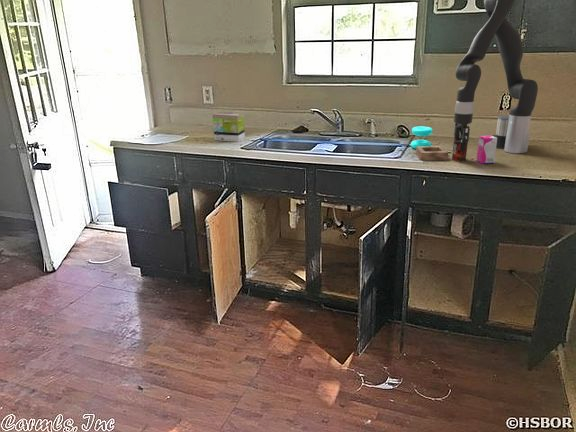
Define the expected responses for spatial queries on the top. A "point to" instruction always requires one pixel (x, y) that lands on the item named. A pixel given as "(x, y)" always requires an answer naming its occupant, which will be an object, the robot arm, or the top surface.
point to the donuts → (421, 132)
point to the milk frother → (501, 131)
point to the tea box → (229, 126)
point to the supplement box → (486, 149)
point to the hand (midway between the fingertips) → (459, 148)
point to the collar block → (431, 153)
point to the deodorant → (458, 146)
